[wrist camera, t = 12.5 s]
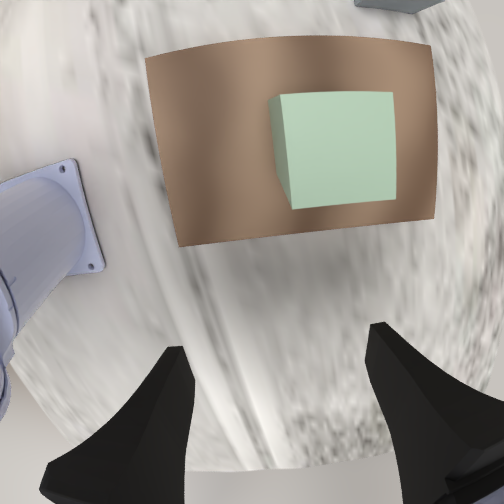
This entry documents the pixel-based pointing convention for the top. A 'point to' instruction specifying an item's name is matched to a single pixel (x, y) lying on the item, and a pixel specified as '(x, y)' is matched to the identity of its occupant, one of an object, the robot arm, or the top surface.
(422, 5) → the slate block
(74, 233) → the robot arm
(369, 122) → the sage block
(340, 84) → the walnut board
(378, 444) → the top surface
